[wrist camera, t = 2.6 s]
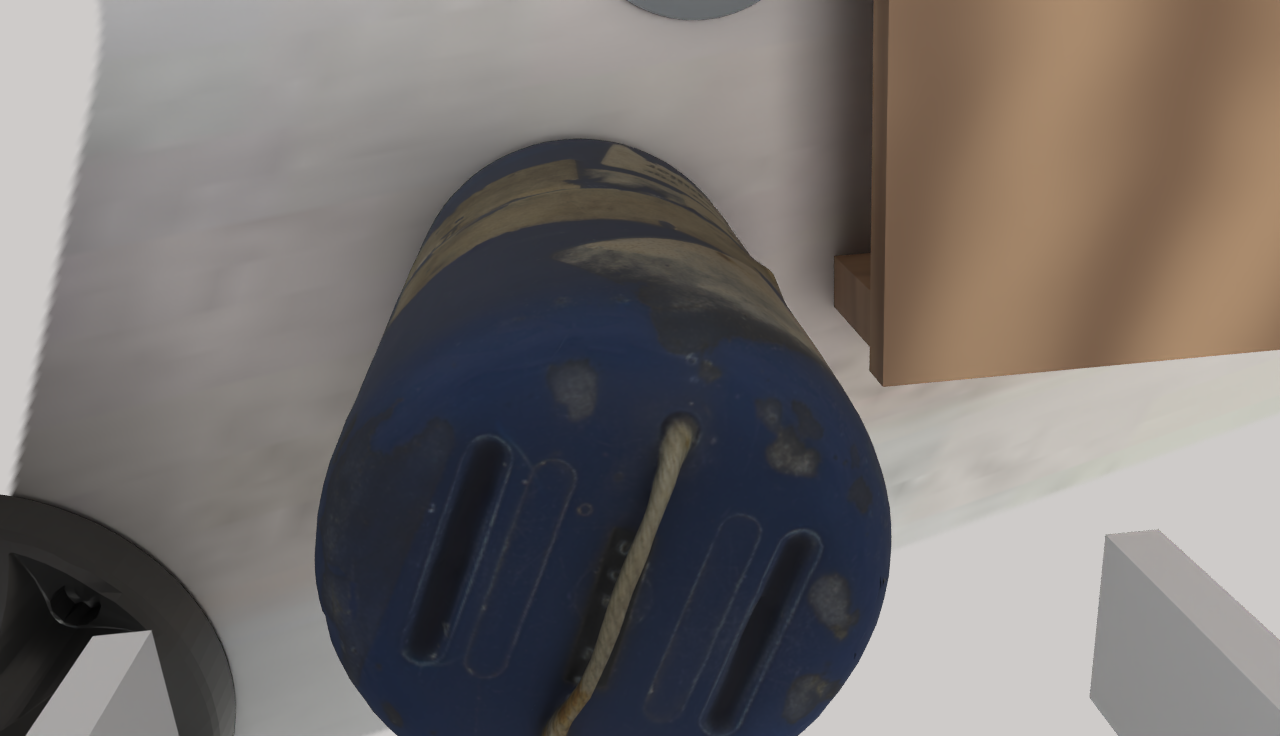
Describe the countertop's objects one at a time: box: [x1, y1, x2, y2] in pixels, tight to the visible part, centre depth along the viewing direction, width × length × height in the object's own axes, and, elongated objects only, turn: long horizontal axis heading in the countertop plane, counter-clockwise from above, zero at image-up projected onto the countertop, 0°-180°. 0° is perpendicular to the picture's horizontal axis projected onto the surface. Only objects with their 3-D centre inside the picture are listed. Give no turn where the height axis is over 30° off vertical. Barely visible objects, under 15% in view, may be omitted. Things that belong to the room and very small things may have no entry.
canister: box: [315, 139, 891, 736], centre depth 24 cm, size 10×10×18 cm
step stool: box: [834, 0, 1280, 387], centre depth 29 cm, size 13×13×6 cm
